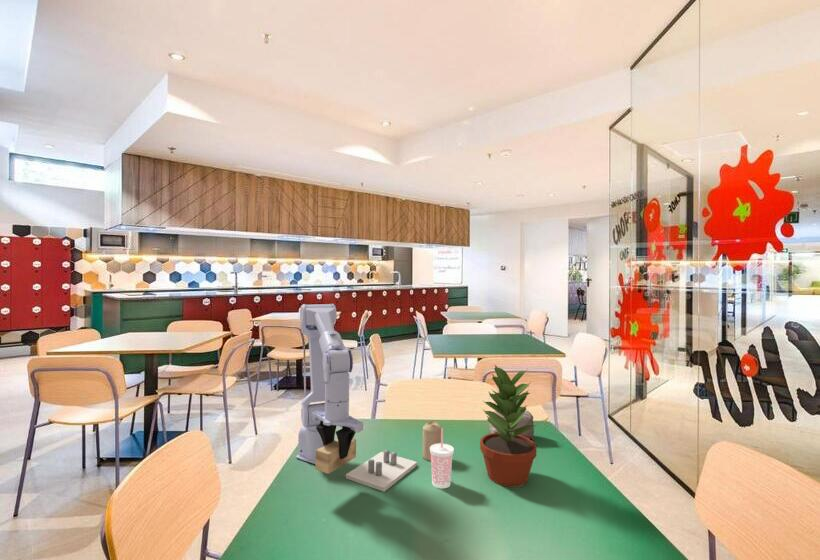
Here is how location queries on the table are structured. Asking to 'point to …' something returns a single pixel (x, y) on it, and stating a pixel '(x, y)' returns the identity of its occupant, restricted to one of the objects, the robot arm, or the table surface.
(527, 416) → the food item
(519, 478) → the potted plant
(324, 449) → the tan rectangular block
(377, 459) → the peg base
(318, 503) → the table surface
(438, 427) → the candle
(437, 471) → the beverage cup
